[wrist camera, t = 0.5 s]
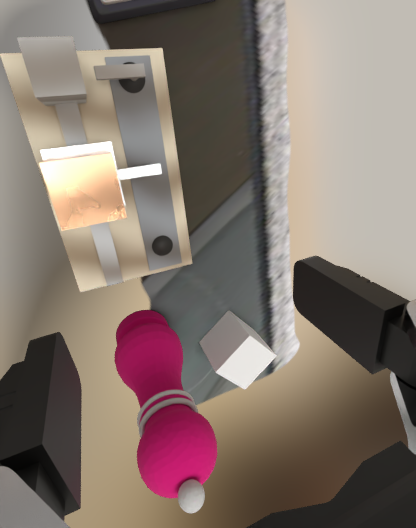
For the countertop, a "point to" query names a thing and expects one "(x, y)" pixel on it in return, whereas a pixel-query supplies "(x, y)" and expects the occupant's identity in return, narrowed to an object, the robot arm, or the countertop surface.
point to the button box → (134, 8)
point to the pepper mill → (164, 411)
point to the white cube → (236, 350)
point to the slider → (87, 183)
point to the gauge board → (123, 143)
